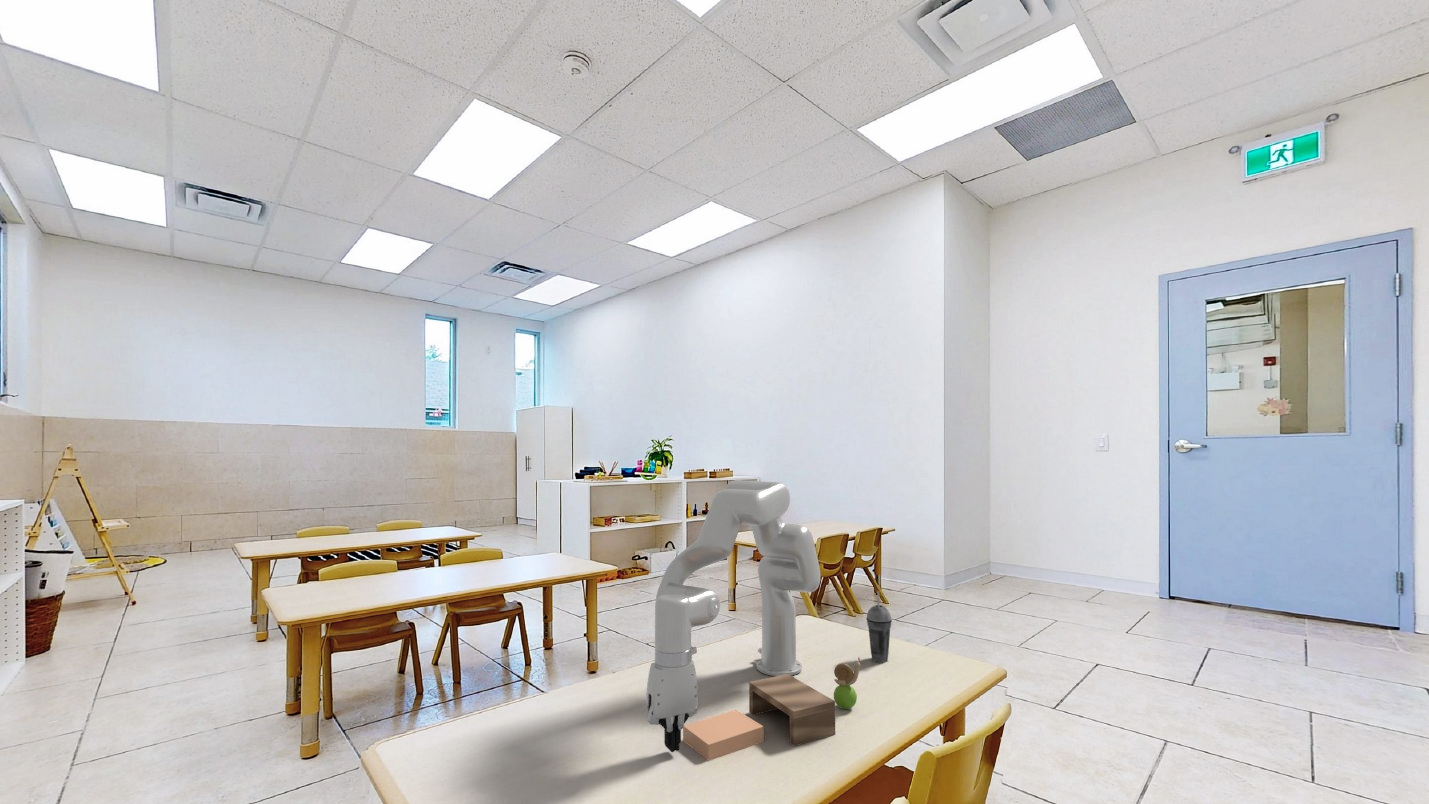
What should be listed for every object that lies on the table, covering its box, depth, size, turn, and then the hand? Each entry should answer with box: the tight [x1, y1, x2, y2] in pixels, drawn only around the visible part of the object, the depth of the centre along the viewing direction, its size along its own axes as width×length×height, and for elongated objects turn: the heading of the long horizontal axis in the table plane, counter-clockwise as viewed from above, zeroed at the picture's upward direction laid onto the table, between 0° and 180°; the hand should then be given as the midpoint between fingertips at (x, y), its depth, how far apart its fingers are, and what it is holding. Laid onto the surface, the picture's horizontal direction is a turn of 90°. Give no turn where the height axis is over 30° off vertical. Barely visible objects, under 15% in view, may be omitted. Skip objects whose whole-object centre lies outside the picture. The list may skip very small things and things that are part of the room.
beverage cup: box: [866, 590, 893, 664], centre depth 180 cm, size 7×7×20 cm
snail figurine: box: [833, 656, 861, 710], centre depth 147 cm, size 5×6×12 cm
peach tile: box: [682, 709, 765, 761], centre depth 131 cm, size 10×14×4 cm
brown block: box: [748, 674, 836, 747], centre depth 139 cm, size 18×11×7 cm, turn 28°
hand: (672, 748), depth 125 cm, fingers closed
